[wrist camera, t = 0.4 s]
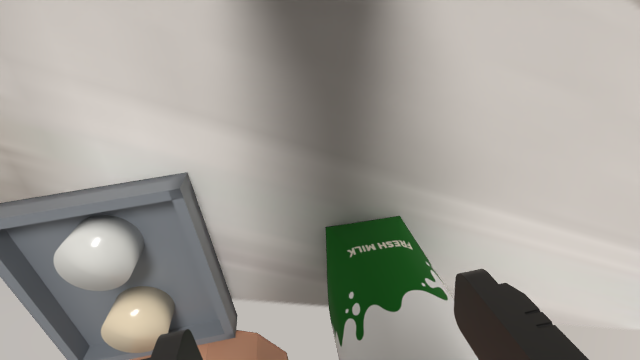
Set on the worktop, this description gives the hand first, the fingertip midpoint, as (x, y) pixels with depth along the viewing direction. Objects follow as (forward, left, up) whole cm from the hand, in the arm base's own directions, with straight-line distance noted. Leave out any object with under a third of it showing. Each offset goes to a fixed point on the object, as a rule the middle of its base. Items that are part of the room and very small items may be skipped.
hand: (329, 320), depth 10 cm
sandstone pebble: (+14, -15, -16) cm, 26 cm away
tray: (+10, -15, -17) cm, 25 cm away
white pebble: (+6, -15, -16) cm, 23 cm away
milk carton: (+13, +5, -17) cm, 22 cm away
